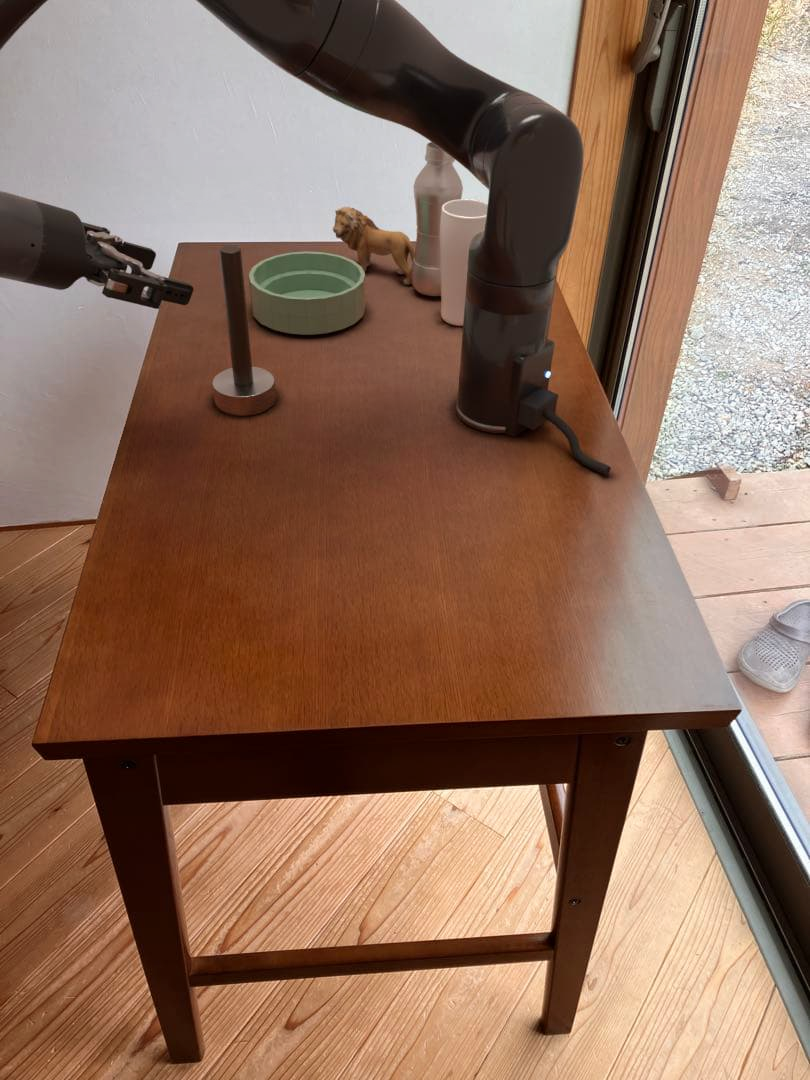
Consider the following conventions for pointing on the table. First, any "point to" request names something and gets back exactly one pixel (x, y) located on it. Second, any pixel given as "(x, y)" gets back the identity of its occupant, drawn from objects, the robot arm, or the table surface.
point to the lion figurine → (372, 240)
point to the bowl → (307, 292)
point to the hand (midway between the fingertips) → (170, 277)
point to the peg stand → (240, 349)
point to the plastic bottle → (432, 216)
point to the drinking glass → (457, 253)
